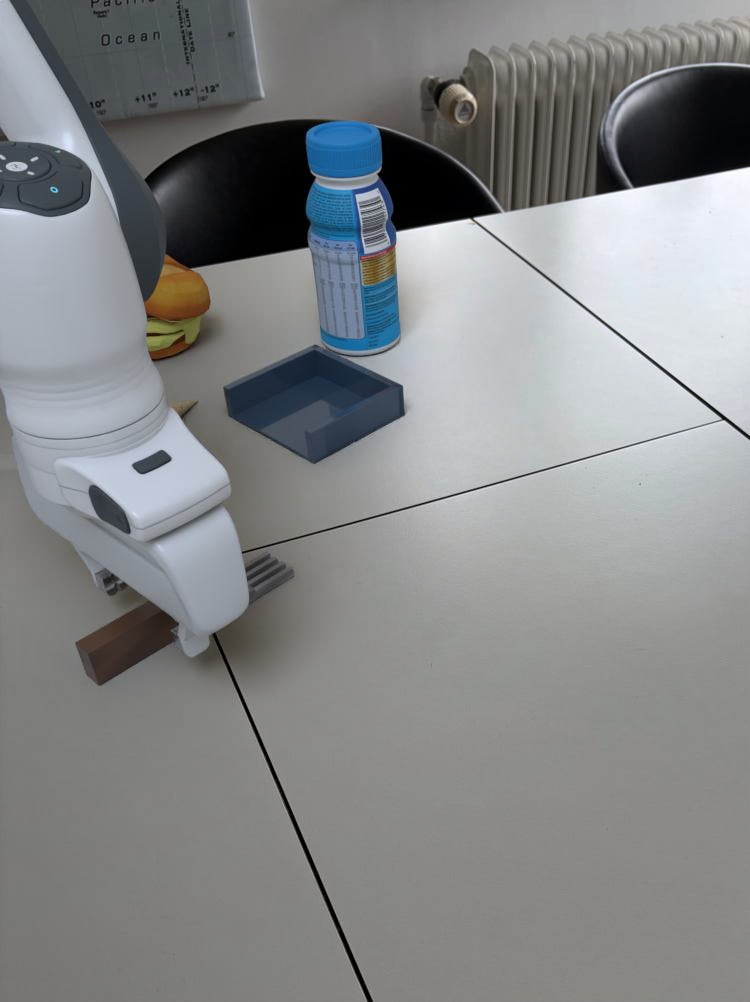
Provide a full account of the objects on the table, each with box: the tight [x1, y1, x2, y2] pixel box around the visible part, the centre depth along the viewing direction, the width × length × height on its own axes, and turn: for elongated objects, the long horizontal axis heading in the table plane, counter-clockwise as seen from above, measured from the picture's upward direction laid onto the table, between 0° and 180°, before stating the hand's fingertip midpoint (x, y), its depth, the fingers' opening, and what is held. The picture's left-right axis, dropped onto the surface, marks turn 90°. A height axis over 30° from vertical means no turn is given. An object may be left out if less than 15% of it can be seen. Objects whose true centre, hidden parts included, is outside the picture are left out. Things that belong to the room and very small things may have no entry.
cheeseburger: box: [144, 253, 212, 360], centre depth 104 cm, size 10×11×10 cm
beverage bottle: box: [305, 120, 402, 357], centre depth 100 cm, size 8×8×20 cm
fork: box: [74, 550, 295, 686], centre depth 74 cm, size 16×3×3 cm, turn 137°
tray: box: [222, 343, 406, 465], centre depth 95 cm, size 12×11×3 cm
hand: (152, 617), depth 71 cm, fingers open, 8 cm apart
